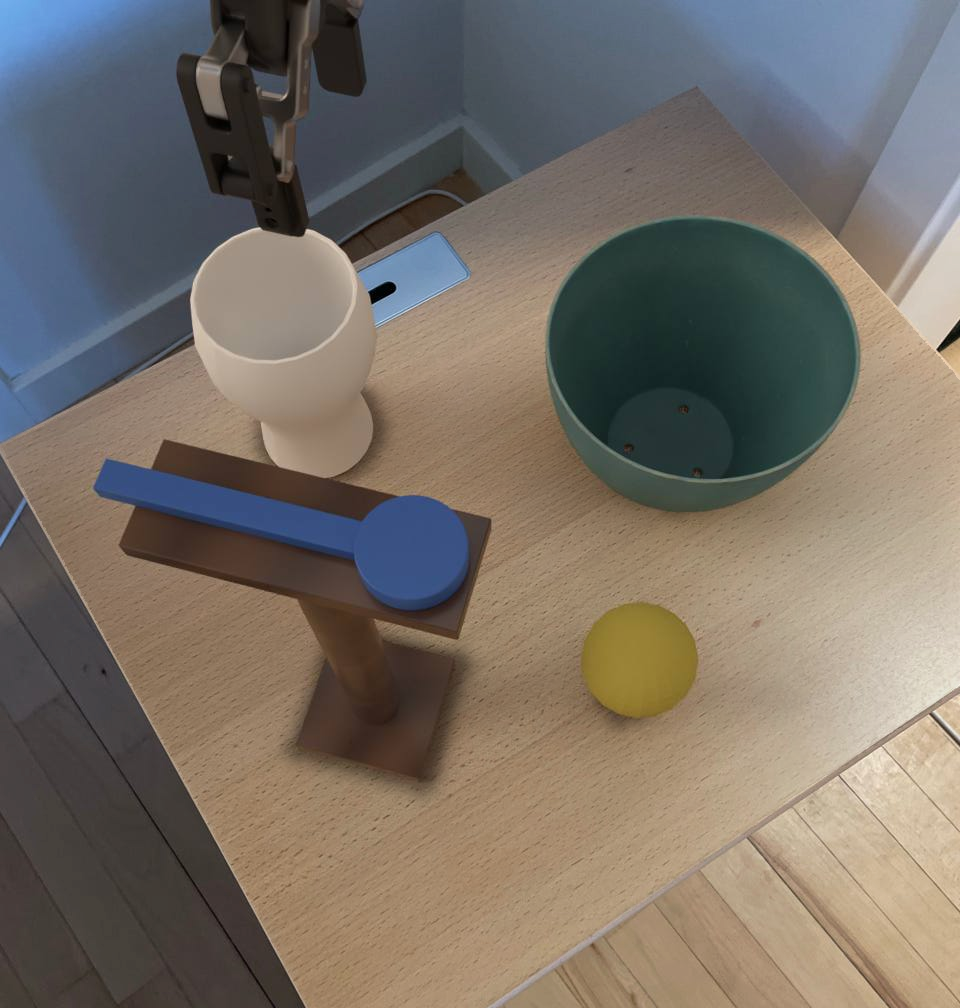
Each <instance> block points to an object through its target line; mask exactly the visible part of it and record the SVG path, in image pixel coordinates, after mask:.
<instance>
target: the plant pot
mask: <svg viewBox="0 0 960 1008" xmlns="http://www.w3.org/2000/svg"><path fill="white" fill-rule="evenodd" d="M544 346H545V347H544V356H545V368H546V375H547V383H548V386H549V391H550V396H551V399H552V403H553V406H554V409H555V412H556V415H557V418H558V421H559V422H560V425H561V428H562V430H563V432H564V435H566V437H567V439H568V441H569V443H570V445H571V446H572V448H573V450H574V451H575V452H576V454H577V455H578V456H579V459H580V460H582V462H583V464H584V465H585V466H586V467H587V468H588V469H589V470H590V471H591V473H592V474H594V475H595V476H596V477H597V478H598V479H599V480H600V481H601V482H602V483H603V484H604V485H606V486H607V487H609V488H610V489H612V490H613V491H614V492H615V493H617V494H619V495H621V497H624V498H626V499H628V501H629V500H630V501H631V502H634V503H636V504H638V505H641V506H644V507H647V508H651V509H654V510H658V511H664V512H669V513H670V512H671V513H681V514H682V513H686V514H687V513H689V514H691V513H703V512H711V511H716V510H720V509H724V508H728V507H731V506H734V505H737V504H741V503H742V502H746V501H748V500H750V499H752V498H755V497H756V496H758V495H760V494H763V493H764V492H766V491H768V490H769V489H771V488H773V487H774V486H776V485H778V484H779V483H781V482H782V481H784V480H785V479H787V478H788V477H789V476H790V475H792V474H793V473H795V472H796V471H797V470H798V469H799V468H800V467H801V466H803V465H804V464H805V463H806V462H807V461H808V460H809V459H810V458H811V457H812V456H813V455H815V453H816V452H817V451H818V450H819V449H820V448H821V447H822V446H823V445H824V444H825V442H826V441H827V440H828V439H829V437H830V436H831V435H832V434H833V432H834V431H835V430H836V429H837V427H838V425H839V424H840V422H841V421H842V419H843V418H844V416H845V415H846V413H847V411H848V409H849V407H850V405H851V403H852V401H853V398H854V395H855V393H856V391H857V390H856V389H857V386H858V383H859V378H860V372H861V361H862V355H861V352H862V351H861V342H860V335H859V332H858V326H857V323H856V320H855V317H854V314H853V311H852V309H851V307H850V304H849V303H848V301H847V298H846V296H845V295H844V293H843V292H842V289H840V286H838V283H836V281H835V280H834V278H833V277H832V276H831V275H830V273H828V272H827V270H826V269H825V268H824V267H823V266H822V265H821V264H820V263H819V262H818V261H817V260H816V259H815V258H814V257H812V256H811V255H810V254H809V253H808V252H806V251H805V250H804V249H802V248H801V247H799V246H798V245H797V244H795V243H794V242H792V241H791V240H789V239H787V238H785V237H783V236H781V235H779V234H777V233H775V231H774V232H773V231H771V230H769V229H768V228H765V227H762V226H759V225H758V224H753V223H750V222H748V221H744V220H740V219H736V218H731V217H724V216H717V215H708V214H705V215H704V214H683V215H681V214H680V215H671V216H665V217H660V218H654V219H650V220H647V221H643V222H640V223H637V224H634V225H631V226H629V227H625V228H624V229H621V230H620V231H617V232H616V233H613V234H611V235H610V236H609V237H607V238H604V239H603V240H602V241H600V242H599V243H598V244H596V245H595V246H594V247H593V248H592V247H591V249H590V250H589V251H588V252H586V253H585V254H584V255H583V256H582V257H581V258H580V259H579V260H578V261H577V262H576V263H575V264H574V265H573V267H572V268H571V269H570V271H568V273H567V274H566V276H565V277H564V279H563V280H562V281H561V283H560V285H559V287H558V289H557V290H556V293H555V295H554V297H553V299H552V302H551V304H550V308H549V311H548V315H547V320H546V327H545V336H544ZM681 408H686V409H687V411H686V412H685V413H684V412H682V411H681V410H680V409H681ZM626 446H630V447H632V450H631V451H629V452H628V451H626V450H625V448H626ZM695 471H699V472H700V473H701V475H700V476H696V475H695V474H694V472H695Z"/></svg>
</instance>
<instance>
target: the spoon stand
mask: <svg viewBox="0 0 960 1008" xmlns="http://www.w3.org/2000/svg"><path fill="white" fill-rule="evenodd" d="M150 469H151V470H155V471H159V472H164V473H168V474H172V475H176V476H180V477H184V478H188V479H192V480H196V481H200V482H204V483H208V484H212V485H216V486H220V487H224V488H229V489H233V490H237V491H241V492H245V493H249V494H253V495H257V496H261V497H265V498H269V499H273V500H277V501H281V502H285V503H289V504H294V505H298V506H302V507H306V508H310V509H314V510H318V511H322V512H326V513H330V514H334V515H338V516H342V517H346V518H350V519H354V520H359V521H363V520H364V519H365V517H366V516H367V515H368V514H369V513H370V512H371V511H372V510H373V509H374V508H376V507H377V506H378V505H380V504H382V503H383V502H385V501H387V500H390V499H392V498H396V497H400V496H401V495H397V494H392V493H387V492H384V491H380V490H375V489H371V488H367V487H363V486H359V485H355V484H351V483H347V482H343V481H340V480H339V481H338V480H335V479H331V478H322V477H318V476H314V475H310V474H306V473H302V472H298V471H293V470H289V469H285V468H281V467H278V465H277V466H276V465H273V464H268V463H264V462H260V461H256V460H251V459H247V458H244V457H238V456H236V455H232V454H228V453H223V452H219V451H214V450H211V449H207V448H202V447H198V446H194V445H190V444H186V443H181V442H178V441H174V440H169V439H164V438H163V439H162V442H161V445H160V446H159V449H158V452H157V454H156V456H155V458H154V461H153V463H152V465H151V468H150ZM451 509H452V510H453V511H454V512H455V513H456V514H457V515H458V517H459V518H460V519H461V521H462V523H463V525H464V527H465V529H466V532H467V536H468V541H469V557H470V558H469V567H468V571H467V574H466V576H465V579H464V581H463V582H462V584H461V586H460V587H459V588H458V590H457V591H456V592H455V593H454V594H453V595H452V596H450V597H449V598H448V599H447V600H445V601H443V602H442V603H440V604H438V605H436V606H434V607H430V608H427V609H422V610H401V609H396V608H393V607H390V606H388V605H386V604H384V603H382V602H381V601H379V600H377V599H376V598H375V597H374V596H373V595H372V594H371V593H370V592H369V591H368V590H367V588H366V587H365V585H364V584H363V582H362V580H361V578H360V575H359V572H358V569H357V566H356V563H355V561H354V560H350V559H346V558H342V557H338V556H334V555H330V554H326V553H322V552H318V551H314V550H310V549H306V548H302V547H298V546H294V545H290V544H286V543H282V542H278V541H274V540H270V539H266V538H262V537H258V536H254V535H250V534H246V533H242V532H238V531H234V530H230V529H226V528H222V527H218V526H214V525H210V524H206V523H202V522H198V521H194V520H190V519H186V518H182V517H178V516H174V515H170V514H166V513H162V512H158V511H154V510H150V509H146V508H142V507H138V506H134V508H133V510H132V511H131V515H130V518H129V519H128V521H127V524H126V526H125V528H124V531H123V533H122V536H121V538H120V540H119V543H118V547H119V548H120V549H121V550H122V552H123V553H124V554H125V555H126V556H127V557H130V558H135V559H139V560H143V561H147V562H151V563H155V564H159V565H163V566H167V567H171V568H175V569H178V570H181V571H186V572H190V573H194V574H197V575H201V576H206V577H208V578H213V579H217V580H221V581H224V582H229V583H233V584H237V585H241V586H244V587H248V588H252V589H256V590H259V591H264V592H268V593H272V594H275V595H280V596H284V597H288V598H291V599H295V600H296V601H297V603H298V605H299V607H300V609H301V611H302V613H303V615H304V617H305V619H306V620H307V622H308V624H309V626H310V628H311V630H312V632H313V634H314V636H315V638H316V640H317V642H318V644H319V646H320V648H321V650H322V652H323V653H324V656H325V659H324V661H323V665H322V667H321V670H320V674H319V676H318V679H317V683H316V685H315V688H314V691H313V693H312V697H311V699H310V703H309V705H308V709H307V711H306V715H305V718H304V721H303V724H302V726H301V729H300V732H299V735H298V738H297V741H296V744H295V745H296V747H297V748H298V750H302V751H304V752H305V751H306V752H309V753H312V754H316V755H320V756H324V757H326V758H331V759H333V760H334V759H335V760H338V761H342V762H345V763H349V764H353V765H356V766H360V767H364V768H368V769H372V770H374V771H379V772H382V773H385V774H390V775H393V776H397V777H399V778H400V777H401V778H405V779H408V780H411V781H415V782H422V781H421V780H422V777H423V774H424V770H425V767H426V764H427V761H428V757H429V754H430V750H431V748H432V743H433V740H434V737H435V733H436V730H437V726H438V723H439V720H440V717H441V713H442V710H443V707H444V703H445V700H446V698H447V697H446V696H447V693H448V691H449V687H450V684H451V679H452V677H453V674H454V669H455V666H456V661H455V658H453V657H448V656H444V655H440V654H436V653H432V652H428V651H424V650H420V649H417V648H414V647H413V648H412V647H409V646H406V645H401V644H397V643H393V642H389V641H386V640H382V639H381V636H380V633H379V630H378V627H377V624H376V620H378V621H381V622H385V623H389V624H393V625H395V626H401V627H405V628H408V629H412V630H415V631H420V632H423V633H428V634H432V635H435V636H438V637H439V636H440V637H444V638H447V639H451V640H455V641H458V640H459V639H460V636H461V632H462V629H463V626H464V624H465V619H466V617H467V616H466V615H467V613H468V609H469V606H470V603H471V599H472V596H473V593H474V589H475V586H476V584H477V583H476V582H477V579H478V576H479V573H480V569H481V566H482V563H483V559H484V556H485V552H486V549H487V547H488V546H487V545H488V542H489V539H490V536H491V533H492V518H490V517H488V516H483V515H478V514H475V513H471V512H466V511H462V510H458V509H454V508H451Z"/></svg>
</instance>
